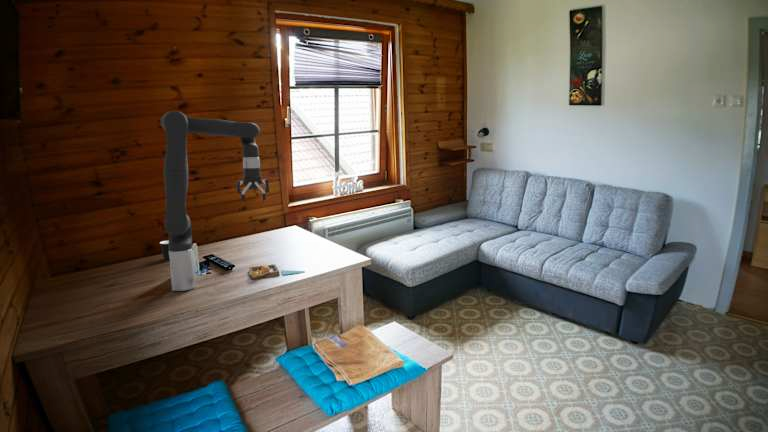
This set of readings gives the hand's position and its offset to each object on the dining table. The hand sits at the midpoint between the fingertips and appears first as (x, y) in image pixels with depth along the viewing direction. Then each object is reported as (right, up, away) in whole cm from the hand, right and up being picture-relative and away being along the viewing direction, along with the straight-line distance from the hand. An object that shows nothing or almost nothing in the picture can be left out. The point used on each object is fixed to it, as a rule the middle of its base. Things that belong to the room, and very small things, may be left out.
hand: (253, 202), depth 204 cm
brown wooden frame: (+5, -33, -2) cm, 34 cm away
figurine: (+7, -33, -2) cm, 34 cm away
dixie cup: (-52, -31, +26) cm, 66 cm away
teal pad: (+18, -32, +1) cm, 37 cm away
